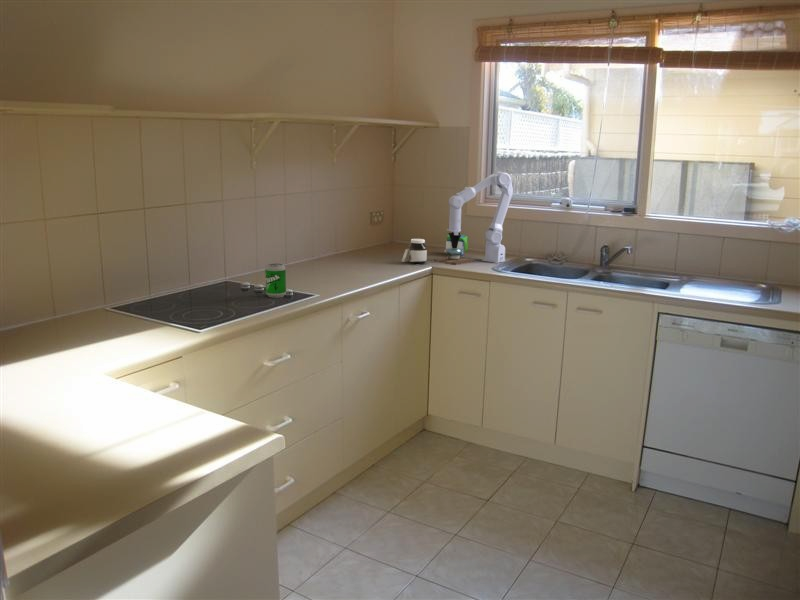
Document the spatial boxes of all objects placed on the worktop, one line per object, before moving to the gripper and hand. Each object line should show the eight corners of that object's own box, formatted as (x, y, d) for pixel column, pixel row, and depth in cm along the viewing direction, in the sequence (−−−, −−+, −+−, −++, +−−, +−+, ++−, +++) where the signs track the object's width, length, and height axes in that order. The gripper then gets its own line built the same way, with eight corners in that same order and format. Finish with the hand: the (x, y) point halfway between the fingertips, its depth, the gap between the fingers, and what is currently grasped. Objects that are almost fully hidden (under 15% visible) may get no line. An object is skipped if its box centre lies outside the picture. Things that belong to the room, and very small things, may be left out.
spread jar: (428, 264, 334) (429, 240, 332) (407, 265, 330) (407, 241, 328) (418, 260, 345) (419, 237, 342) (397, 261, 341) (398, 238, 338)
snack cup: (473, 256, 359) (474, 237, 357) (456, 258, 354) (456, 238, 352) (457, 252, 372) (457, 233, 370) (440, 253, 367) (440, 234, 365)
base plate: (473, 261, 345) (473, 254, 344) (455, 264, 335) (456, 257, 334) (451, 257, 354) (451, 251, 353) (433, 261, 344) (434, 254, 343)
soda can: (277, 292, 269) (276, 262, 266) (290, 295, 264) (289, 264, 261) (261, 295, 263) (261, 264, 260) (274, 299, 258) (274, 267, 256)
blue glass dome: (461, 252, 348) (461, 240, 346) (462, 255, 340) (463, 243, 339) (443, 252, 347) (444, 240, 346) (445, 254, 340) (445, 242, 338)
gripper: (445, 218, 347) (444, 245, 350) (448, 222, 333) (447, 249, 336) (459, 218, 347) (458, 245, 350) (463, 222, 333) (462, 250, 336)
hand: (454, 247), depth 343 cm, fingers open, 3 cm apart
